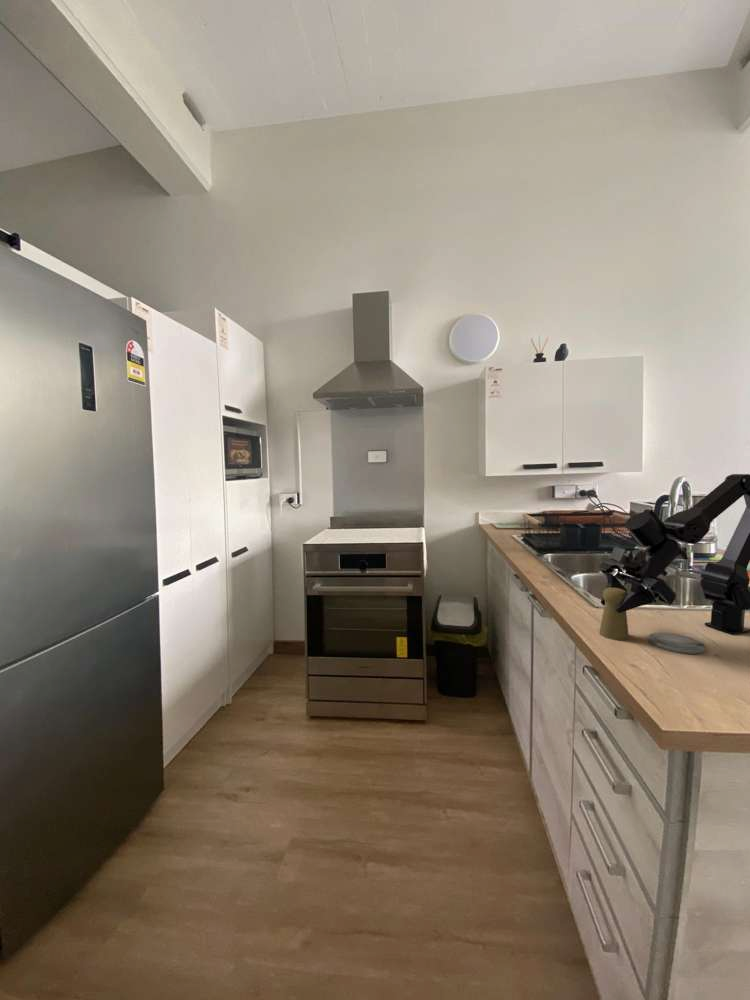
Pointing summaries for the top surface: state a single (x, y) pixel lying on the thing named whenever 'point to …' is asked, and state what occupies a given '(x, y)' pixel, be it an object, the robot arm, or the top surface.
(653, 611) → the top surface
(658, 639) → the coaster
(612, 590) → the cork
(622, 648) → the top surface
